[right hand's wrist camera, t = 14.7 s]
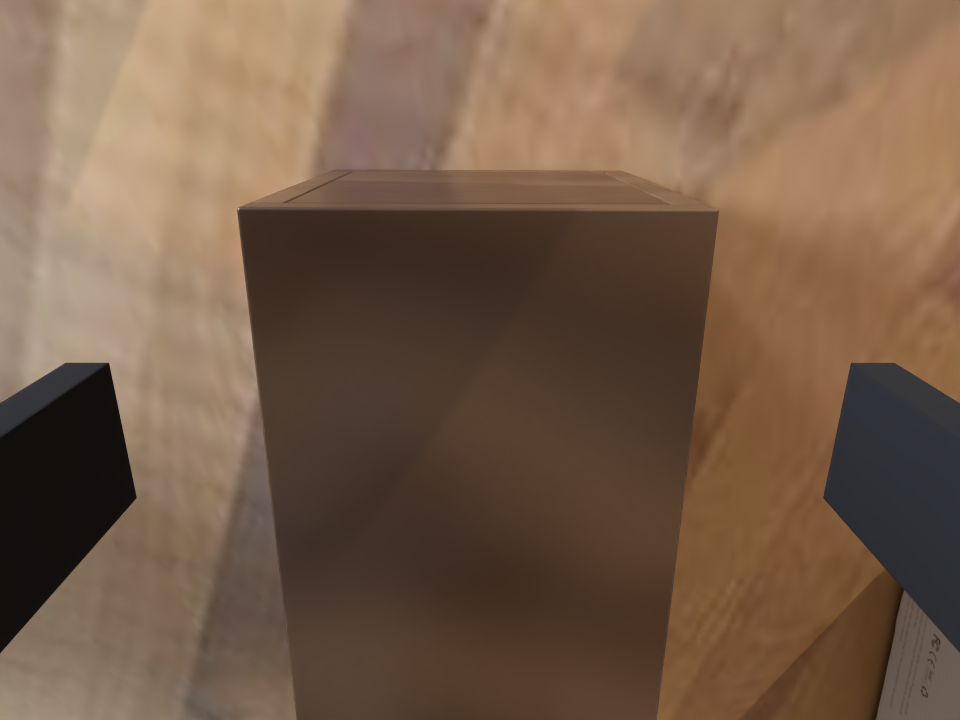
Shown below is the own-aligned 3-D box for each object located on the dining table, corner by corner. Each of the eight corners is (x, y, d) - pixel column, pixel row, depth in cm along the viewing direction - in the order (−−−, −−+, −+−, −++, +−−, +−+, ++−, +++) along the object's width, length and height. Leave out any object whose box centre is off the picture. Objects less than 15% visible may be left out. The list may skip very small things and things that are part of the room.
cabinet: (589, 622, 33) (641, 854, 23) (363, 622, 33) (311, 855, 23) (622, 170, 26) (720, 208, 16) (332, 169, 26) (235, 207, 16)
